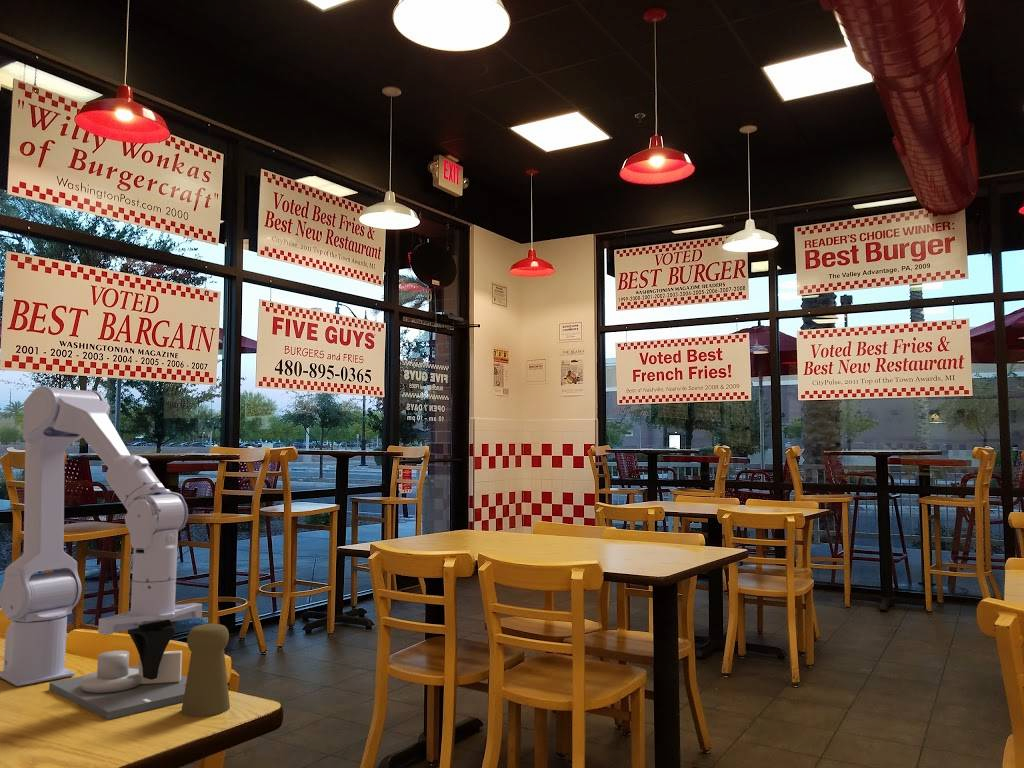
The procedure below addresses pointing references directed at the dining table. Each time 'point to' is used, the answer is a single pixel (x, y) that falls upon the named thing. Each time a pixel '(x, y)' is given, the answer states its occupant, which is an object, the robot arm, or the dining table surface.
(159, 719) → the dining table surface
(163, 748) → the dining table surface
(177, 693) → the dial board
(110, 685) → the dial
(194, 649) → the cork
